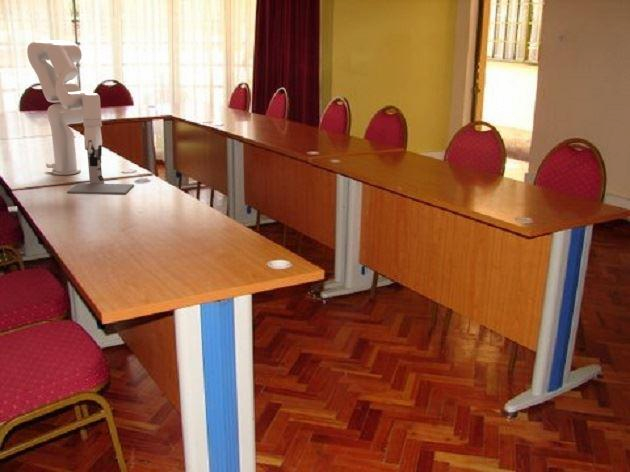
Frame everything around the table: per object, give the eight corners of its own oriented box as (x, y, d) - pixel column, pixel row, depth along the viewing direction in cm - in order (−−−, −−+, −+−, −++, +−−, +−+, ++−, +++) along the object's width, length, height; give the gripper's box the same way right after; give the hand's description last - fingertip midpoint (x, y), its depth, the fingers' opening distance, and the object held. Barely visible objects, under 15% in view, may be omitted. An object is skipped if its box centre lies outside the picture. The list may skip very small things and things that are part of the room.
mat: (67, 193, 277) (67, 191, 277) (78, 184, 290) (78, 183, 290) (125, 194, 277) (125, 192, 277) (133, 186, 291) (133, 184, 290)
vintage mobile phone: (100, 184, 292) (96, 127, 284) (89, 183, 293) (85, 126, 285) (104, 182, 295) (100, 125, 288) (93, 181, 296) (89, 125, 288)
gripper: (89, 119, 294) (93, 160, 300) (77, 125, 278) (80, 168, 284) (107, 119, 294) (109, 160, 300) (95, 126, 278) (98, 169, 284)
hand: (95, 164), depth 292 cm, fingers closed on vintage mobile phone, 4 cm apart
